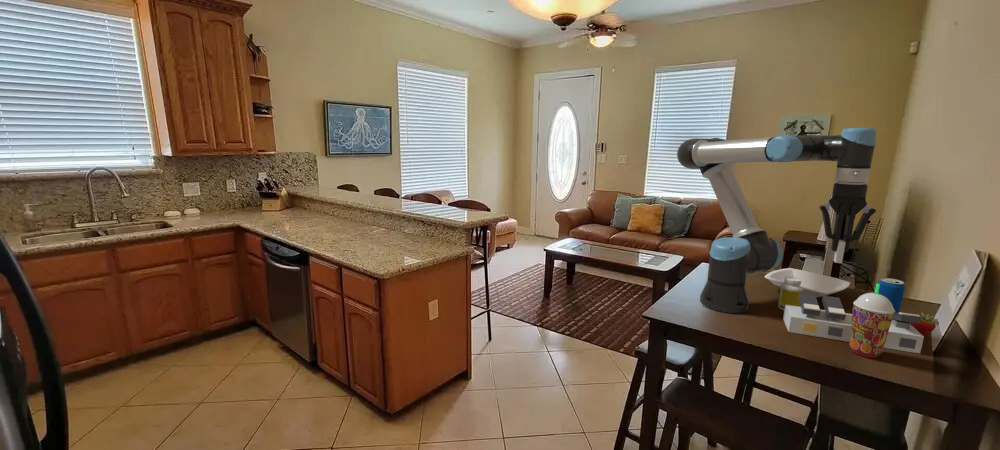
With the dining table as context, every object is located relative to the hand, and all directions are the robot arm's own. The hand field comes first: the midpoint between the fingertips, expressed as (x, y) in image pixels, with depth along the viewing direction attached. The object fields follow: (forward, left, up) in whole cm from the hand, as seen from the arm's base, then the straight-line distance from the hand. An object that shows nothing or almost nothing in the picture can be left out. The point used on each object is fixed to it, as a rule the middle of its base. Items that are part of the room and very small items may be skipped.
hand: (837, 261), depth 123 cm
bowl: (0, +32, -22) cm, 39 cm away
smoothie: (+6, -14, -22) cm, 26 cm away
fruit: (+23, +4, -22) cm, 32 cm away
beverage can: (+20, +20, -22) cm, 36 cm away
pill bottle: (-8, +12, -22) cm, 26 cm away
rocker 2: (0, -3, -14) cm, 14 cm away
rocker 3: (+16, -3, -14) cm, 21 cm away
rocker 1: (-6, -3, -14) cm, 15 cm away
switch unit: (+4, -3, -22) cm, 22 cm away
